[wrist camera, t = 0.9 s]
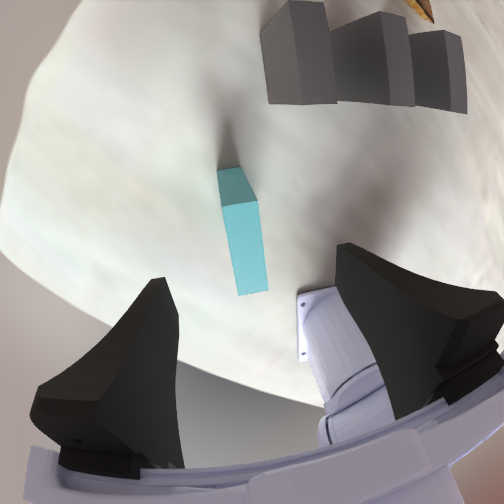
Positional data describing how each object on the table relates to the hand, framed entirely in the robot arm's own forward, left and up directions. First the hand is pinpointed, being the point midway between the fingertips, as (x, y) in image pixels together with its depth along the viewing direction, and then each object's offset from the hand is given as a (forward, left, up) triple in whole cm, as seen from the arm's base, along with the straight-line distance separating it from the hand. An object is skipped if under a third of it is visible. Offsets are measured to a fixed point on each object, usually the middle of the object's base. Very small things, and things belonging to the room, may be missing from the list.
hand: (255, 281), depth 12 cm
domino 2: (+9, -4, -9) cm, 14 cm away
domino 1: (0, 0, -9) cm, 9 cm away
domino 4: (+9, -13, -9) cm, 18 cm away
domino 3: (+9, -8, -9) cm, 16 cm away
